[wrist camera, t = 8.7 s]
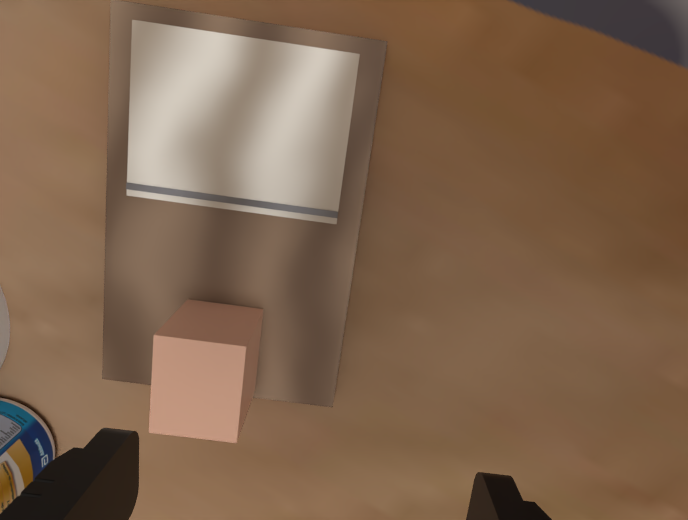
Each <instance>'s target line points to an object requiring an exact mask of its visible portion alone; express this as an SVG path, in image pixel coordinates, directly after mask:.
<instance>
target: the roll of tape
mask: <svg viewBox="0 0 688 520" xmlns="http://www.w3.org/2000/svg"><path fill="white" fill-rule="evenodd" d="M9 339H10V319H9V312H8V307H7V303H6V299H5V296H4V294H3V291H2V288H1V286H0V368H1V366H2V364H3V362H4V360H5V357H6V354H7V351H8V347H9Z"/></svg>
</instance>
